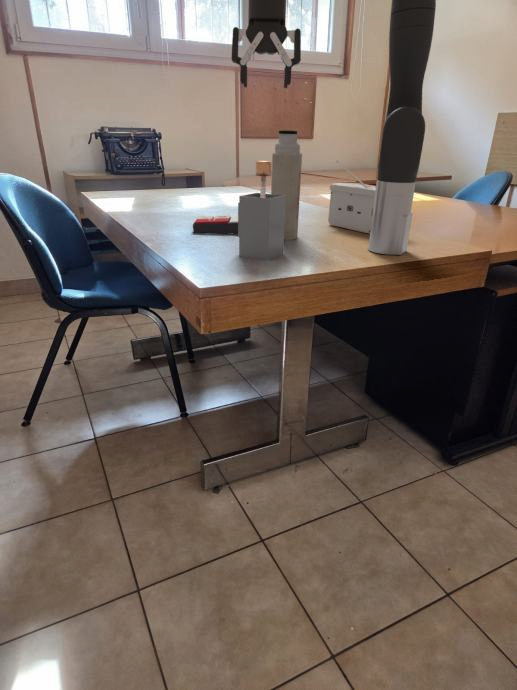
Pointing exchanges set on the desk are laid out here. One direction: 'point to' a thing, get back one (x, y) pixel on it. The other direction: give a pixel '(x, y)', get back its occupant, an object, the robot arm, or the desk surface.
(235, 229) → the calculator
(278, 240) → the grey hexagonal pencil cup
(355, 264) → the desk surface
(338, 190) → the stereo radio cassette player
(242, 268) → the desk surface
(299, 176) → the thermos bottle
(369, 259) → the desk surface
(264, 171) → the plunger
